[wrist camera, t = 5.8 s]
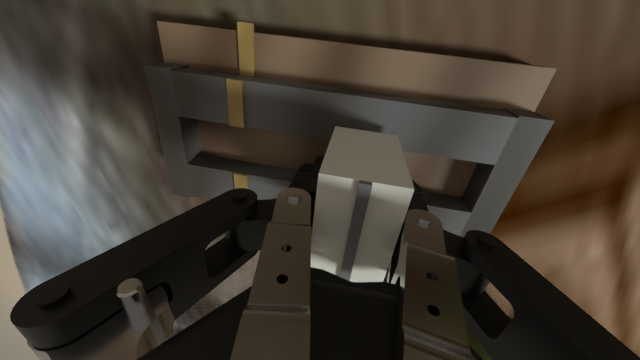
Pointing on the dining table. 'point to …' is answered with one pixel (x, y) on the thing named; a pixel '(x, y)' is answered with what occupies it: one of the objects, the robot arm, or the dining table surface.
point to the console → (342, 115)
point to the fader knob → (360, 204)
